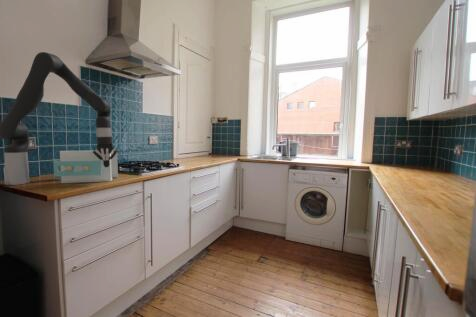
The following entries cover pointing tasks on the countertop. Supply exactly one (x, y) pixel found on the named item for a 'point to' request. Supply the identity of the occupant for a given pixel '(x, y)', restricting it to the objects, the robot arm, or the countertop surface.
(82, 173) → the panel
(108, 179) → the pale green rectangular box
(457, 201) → the countertop surface
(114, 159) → the rounded white slab
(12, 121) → the robot arm
